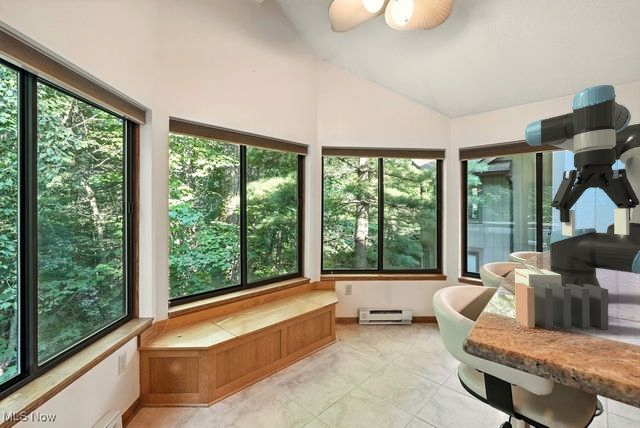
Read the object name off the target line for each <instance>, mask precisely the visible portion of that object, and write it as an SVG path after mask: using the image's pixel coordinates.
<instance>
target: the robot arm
mask: <svg viewBox="0 0 640 428" xmlns="http://www.w3.org/2000/svg"><path fill="white" fill-rule="evenodd" d="M616 97H617V95H616V92H615V87H614V85H613V84H612V85H611V84H600V85H594V86H591V87H587V88H584V89H582V90H579V91H578V92H576V93H575V94H574V96H573V97H572V98H573V101H572V106H571V110H572V112H569V113H565V114H561V115H556V116H552V117H548V118H544V119H539V120H536V121H533V122H531V123H528V124H527V125H526V127H525V130H524V138H525V141H526V143H527V145H529V146H532V147H535V146H542V145H551V146H554V147H556V148H559V149H563V150H566V151H569V152H572V154H573V167H574V169H569V170H565V171H563V174H562V180H561V183H560V184H559V187H558V189H557V191H556V193H555V195H554V198H553V200H552V202H551V204H550V205H551V207H552V208H555V209H556V210H557V211H558V210H559V221H560V223H561V230H554V231H552V232H551V234H550V237H549V238H550V241H549V254H550V255H549V259H550V261H549V262H550V268H549V269H550V270H549V271H551V272H554V273H557V274H560V275H561V283H562V286H564V287H566V284H575V285H578V286H581V287H584V284H591V285H595V286H598V287H601V288H602V286H601V284H600V282H599V279H598V278H597V277H598V276H597V269H600V270H606V271H607V270H608V271H616V272H625V273H631V274H635V275H640V123H635V124H630V122H631V119H632V115H631V114H632V113H631V112H630V110H629V109H628V108H627V107H626V106H625V105H623V104H619V103H618V102H617V101H616ZM617 161H620V163H622V164H624V168H619V169H618V168H617V169H613V165H615V164H616V162H617ZM591 188H592V189H598V188H599V190H601V191H603V192H604V193H605V194H606V196H607V197H608V198H609V199H610V200H611V201H612V203H613V204H614V205H615V206H616V207H617V208H614V209H613V215H614V216H613V220H614V221H613V222H614V223H611V224H609V225H608V226H607V228H606V232H597V229H596V228H594V227H590V228H589V227H588V228H576V224H575V222H576V218H575V216H576V215H575V214H576V213H575V211H576V210H575V209H572V208H573V207H574V206H575V204H576V203H577V201H579V199H580V198H581V197H582V195H583V194H585V192H586V190H588V189H591Z"/></svg>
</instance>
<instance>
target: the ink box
mask: <svg viewBox="0 0 640 428" xmlns="http://www.w3.org/2000/svg"><path fill="white" fill-rule="evenodd" d="M524 266H526V268H514V284H515V283H523V284H525V285H528V286H530V287H532V283H539V284H542V285H544V286H547V287H549V284H558V285H561V286H562V283H561V275H560V274H557V273H554V272H551V271H550V270H548V269H546V268H545V269H544V268H543V269H542V268H538V267H537V266H534V265H531V264H527V263H524Z"/></svg>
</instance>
